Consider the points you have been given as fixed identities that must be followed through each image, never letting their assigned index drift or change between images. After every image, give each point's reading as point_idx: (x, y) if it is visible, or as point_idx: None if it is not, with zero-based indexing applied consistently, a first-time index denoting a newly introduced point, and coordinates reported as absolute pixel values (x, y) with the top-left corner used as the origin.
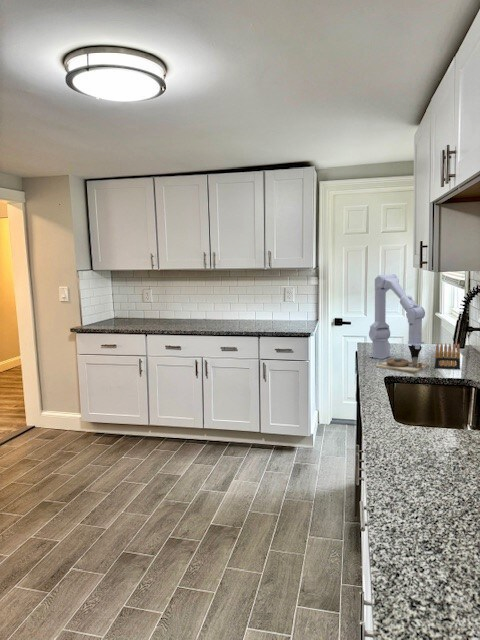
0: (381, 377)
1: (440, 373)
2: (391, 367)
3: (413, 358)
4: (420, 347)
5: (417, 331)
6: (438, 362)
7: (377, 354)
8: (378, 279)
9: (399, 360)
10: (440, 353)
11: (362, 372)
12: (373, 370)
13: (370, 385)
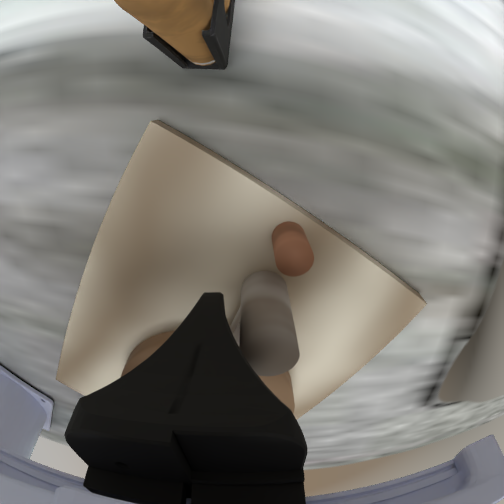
0: (432, 414)
1: (429, 77)
2: (296, 414)
3: (288, 361)
4: (278, 449)
5: None
6: (225, 17)
7: (41, 425)
8: None
9: None
10: None
11: (339, 464)
12: (309, 449)
13: (492, 412)
